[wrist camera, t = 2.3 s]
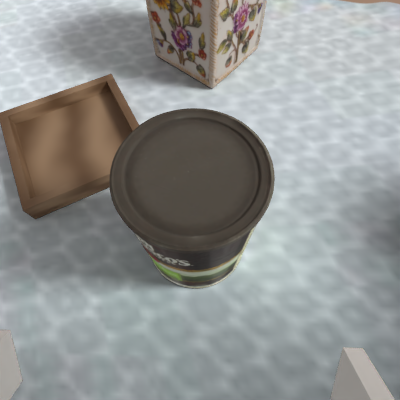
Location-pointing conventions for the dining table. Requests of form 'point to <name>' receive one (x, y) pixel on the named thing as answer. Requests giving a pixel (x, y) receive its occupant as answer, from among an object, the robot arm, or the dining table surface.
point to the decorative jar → (206, 34)
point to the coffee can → (192, 192)
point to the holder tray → (66, 143)
